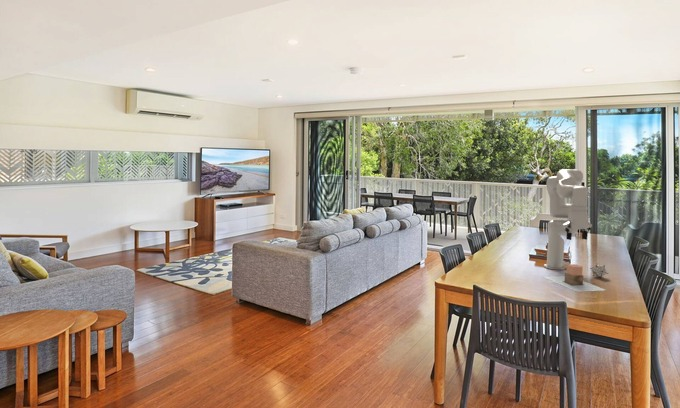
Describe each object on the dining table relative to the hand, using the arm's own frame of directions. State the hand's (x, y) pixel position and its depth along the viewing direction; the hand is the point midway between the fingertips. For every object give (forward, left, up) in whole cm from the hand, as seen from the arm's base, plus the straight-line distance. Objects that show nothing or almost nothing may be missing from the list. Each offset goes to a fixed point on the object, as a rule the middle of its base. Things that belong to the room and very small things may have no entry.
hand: (576, 239), depth 235 cm
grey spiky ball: (-27, -13, -26) cm, 40 cm away
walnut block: (0, 0, -25) cm, 25 cm away
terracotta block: (0, 0, -20) cm, 20 cm away
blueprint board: (0, 0, -26) cm, 26 cm away
